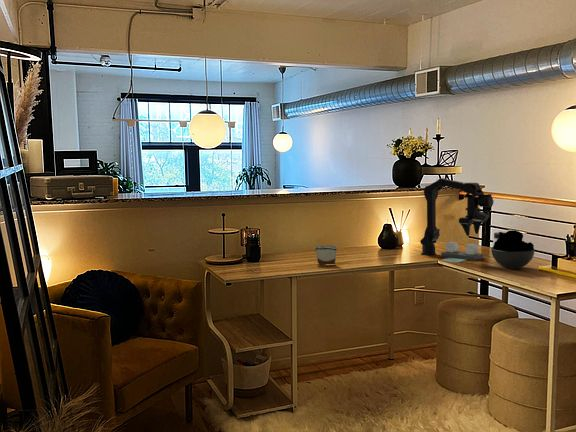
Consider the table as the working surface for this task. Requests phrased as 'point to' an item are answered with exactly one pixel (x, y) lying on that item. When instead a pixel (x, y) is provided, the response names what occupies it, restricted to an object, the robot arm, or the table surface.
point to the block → (452, 247)
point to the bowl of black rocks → (512, 250)
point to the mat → (453, 260)
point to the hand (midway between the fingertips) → (472, 234)
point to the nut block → (472, 249)
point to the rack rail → (462, 256)
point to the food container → (326, 254)
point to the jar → (496, 237)
